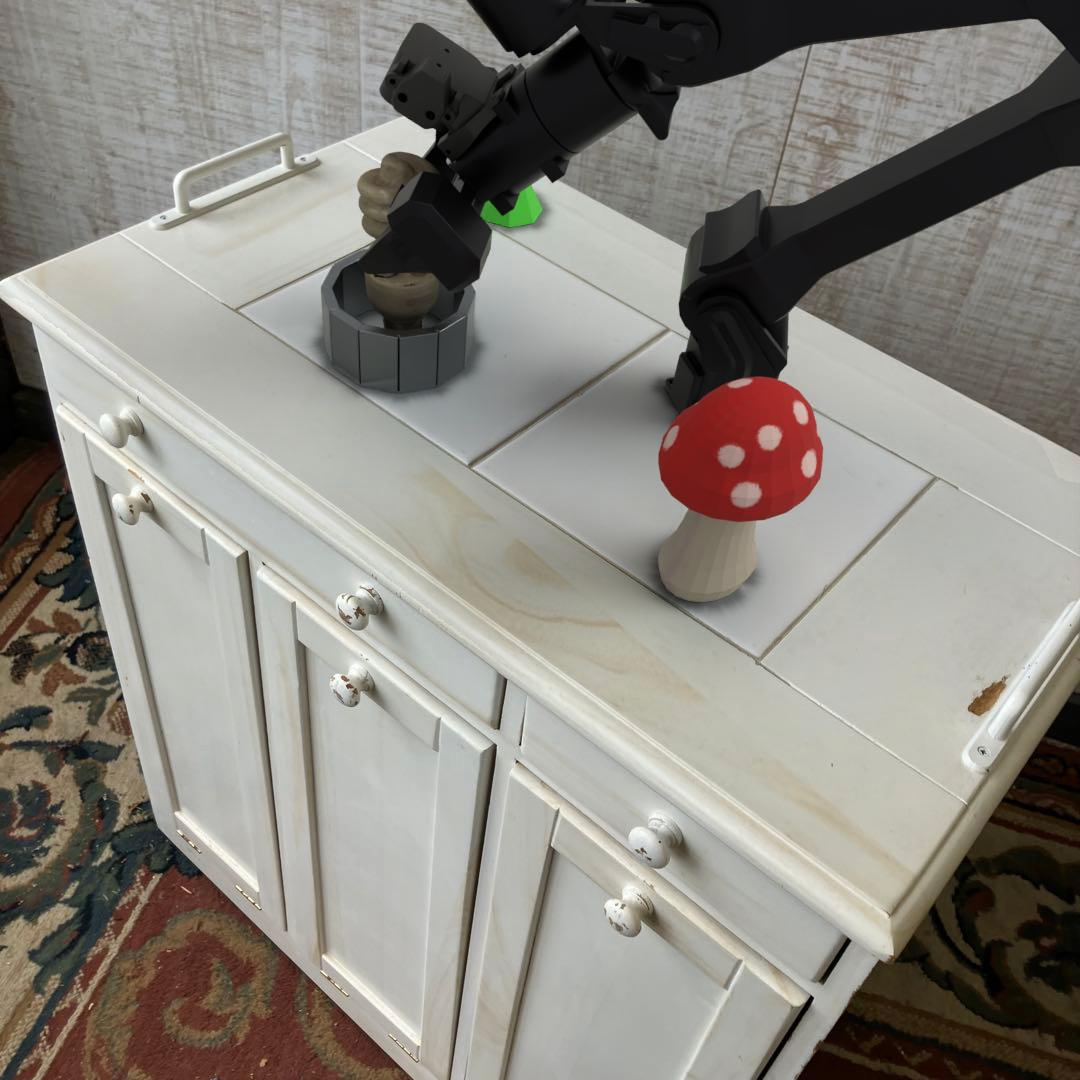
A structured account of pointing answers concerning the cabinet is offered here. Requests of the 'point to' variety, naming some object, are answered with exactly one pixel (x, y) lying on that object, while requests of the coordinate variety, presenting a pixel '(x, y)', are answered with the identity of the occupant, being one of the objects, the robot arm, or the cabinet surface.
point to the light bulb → (388, 293)
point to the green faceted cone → (515, 211)
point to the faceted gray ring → (393, 336)
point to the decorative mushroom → (733, 480)
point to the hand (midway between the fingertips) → (379, 234)
